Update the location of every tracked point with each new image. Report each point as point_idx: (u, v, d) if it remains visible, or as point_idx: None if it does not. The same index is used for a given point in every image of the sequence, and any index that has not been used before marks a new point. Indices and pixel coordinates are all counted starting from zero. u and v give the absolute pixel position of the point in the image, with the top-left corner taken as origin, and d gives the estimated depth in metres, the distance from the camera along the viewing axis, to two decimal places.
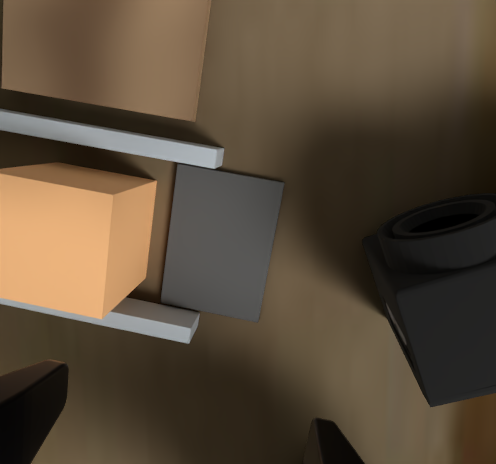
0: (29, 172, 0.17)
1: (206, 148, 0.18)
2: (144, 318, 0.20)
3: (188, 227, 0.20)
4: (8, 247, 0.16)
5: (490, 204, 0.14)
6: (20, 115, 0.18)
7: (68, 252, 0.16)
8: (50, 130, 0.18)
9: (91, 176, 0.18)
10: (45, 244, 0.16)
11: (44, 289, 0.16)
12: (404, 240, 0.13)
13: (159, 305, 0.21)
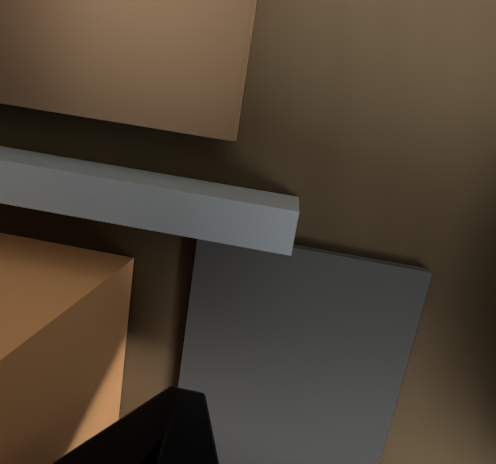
0: None
1: (272, 208, 0.07)
2: None
3: (221, 357, 0.10)
4: None
5: None
6: None
7: None
8: None
9: None
10: None
11: None
12: None
13: None
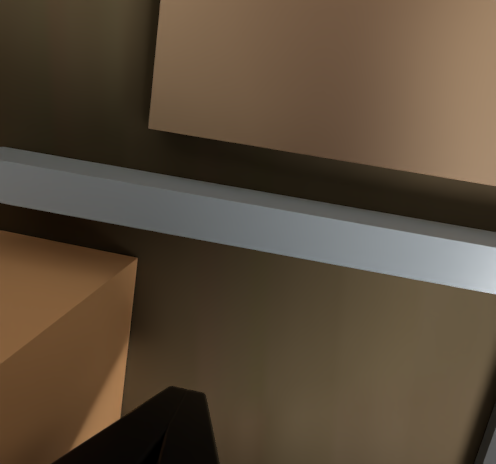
0: None
1: None
2: None
3: None
4: None
5: None
6: (213, 198, 0.07)
7: None
8: (290, 236, 0.07)
9: None
10: None
11: None
12: None
13: None
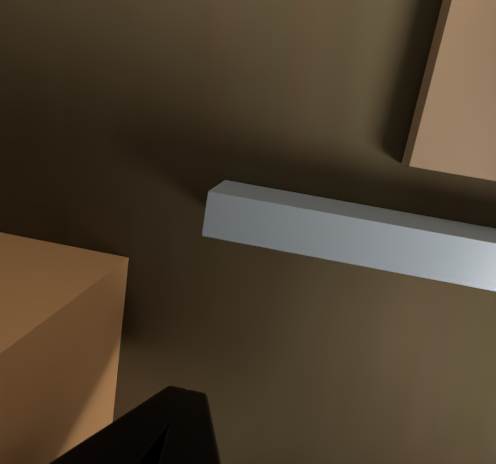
0: None
1: None
2: None
3: None
4: None
5: None
6: None
7: None
8: None
9: None
10: None
11: None
12: None
13: None
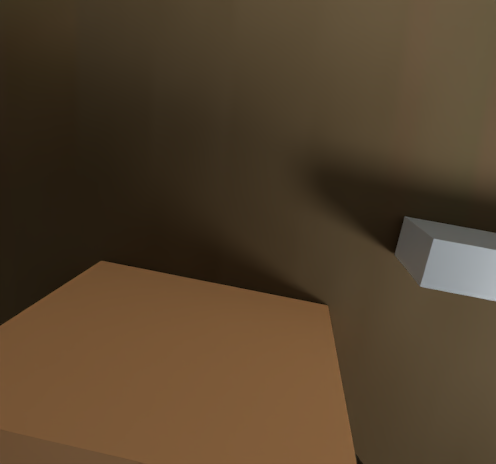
0: (41, 361, 0.05)
1: None
2: None
3: None
4: None
5: None
6: None
7: None
8: None
9: (201, 330, 0.07)
10: None
11: None
12: None
13: None
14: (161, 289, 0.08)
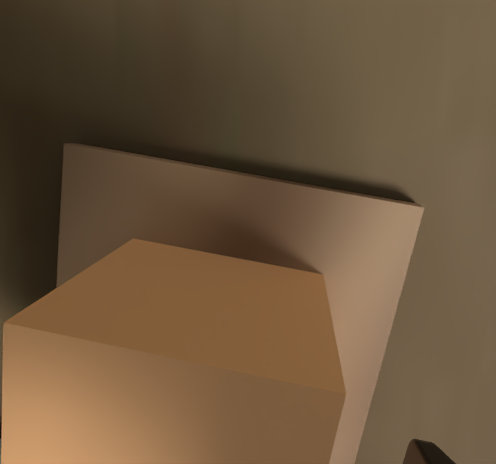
0: (105, 303, 0.07)
1: None
2: None
3: None
4: None
5: None
6: None
7: None
8: None
9: (221, 288, 0.09)
10: None
11: None
12: None
13: None
14: (186, 260, 0.10)
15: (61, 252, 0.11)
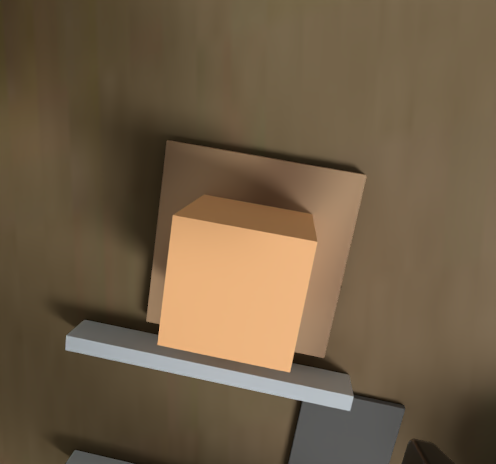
0: (208, 213, 0.15)
1: (343, 393, 0.19)
2: None
3: (312, 439, 0.22)
4: (191, 296, 0.15)
5: None
6: (170, 356, 0.20)
7: (258, 302, 0.15)
8: (198, 371, 0.20)
9: (258, 214, 0.17)
10: (233, 294, 0.15)
11: (227, 340, 0.15)
12: None
13: None
14: (236, 203, 0.18)
15: (161, 203, 0.19)
